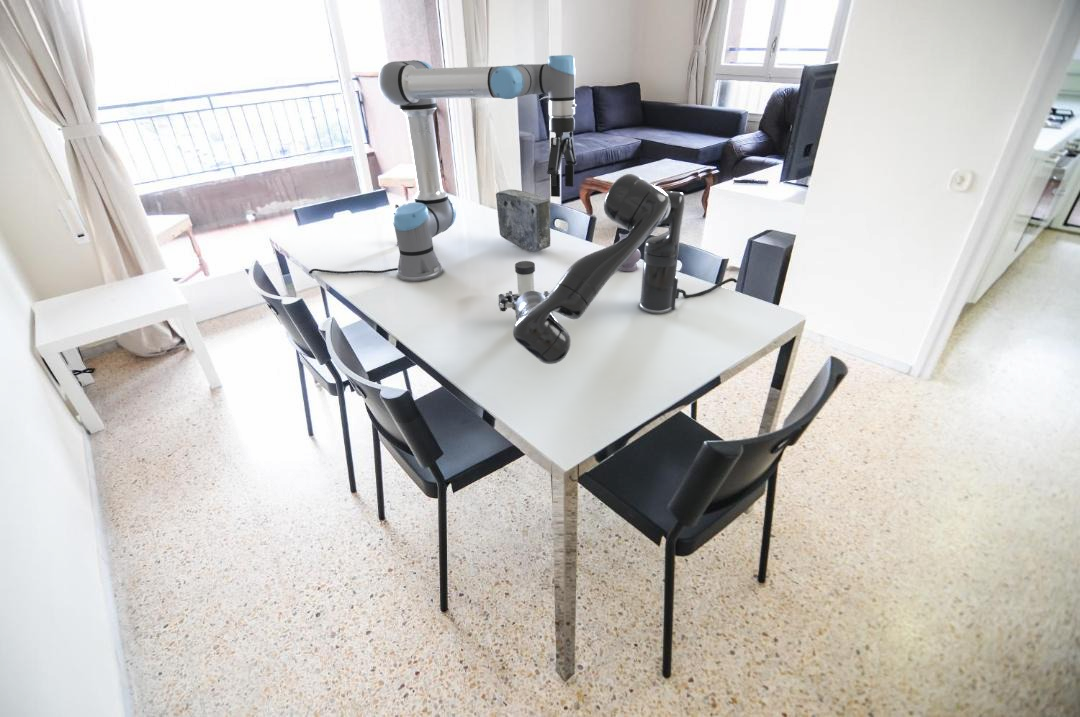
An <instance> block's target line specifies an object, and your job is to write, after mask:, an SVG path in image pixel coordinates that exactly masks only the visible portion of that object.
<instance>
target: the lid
mask: <svg viewBox="0 0 1080 717" xmlns="http://www.w3.org/2000/svg"><path fill="white" fill-rule="evenodd" d="M514 271H515V273H516V275H517V274H522V275H526V274H531V273H533V272H534V273H535V272H536V263H535V262H533V261H531V260H522V261H518V262H516V263H515V264H514Z"/></svg>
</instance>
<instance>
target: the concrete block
mask: <svg viewBox="0 0 1080 717" xmlns="http://www.w3.org/2000/svg"><path fill="white" fill-rule="evenodd" d="M495 199H496V200H495V201H496V209H497V221H498V230H499V235H500V237H501V238H503V239H505V240H506V241H508V242H509V243H511V244H513V245H515V246H517V247H519V248H520V249H523V250H526V251H530V252H540V251H542V250H545V249H547V248H549V247H551V200H550V199H549V198H546V197H544V196H541V195H538V194H535V193H531V192H528V191H523V190H519V189H511V188H510V189H505V190H500V191H498V192H496V193H495Z"/></svg>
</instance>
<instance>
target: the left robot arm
mask: <svg viewBox="0 0 1080 717" xmlns="http://www.w3.org/2000/svg"><path fill="white" fill-rule="evenodd" d="M377 85H378V89H379V92H380V93H381V95H382V96H383V97H384V99H385V100H387V101H388V102H389V103H390V104H393V105H396V106H399V111H400V112H401V113H403V114H404V116H405V119H406V124H407V125H406V126H407V132H408V137H409V144H410V151H411V156H412V162H413V170H414V175H415V176H414V177H415V182H416V187H417V192H416V193H415V194H414V202H409V203H407V204H406V203H404V204H402V205H400V206H399V205H398V206H399V207H398V208H395V209H394V210H393V213H392V219H393V221H392V224H393V227H394V230H395V231H394V232H395V236H396V243H397V242H398V245H397V247H398V251H399V259H398V265H397V267H395V268H387V269H381V270H371V269H370V270H366V269H364V270H363V269H360V270H358V269H357V270H346V271H343V270H341V271H340V270H330V269H320V268H312V269H310V270H309V271H308V274H312V273H313V272H318V273H319V272H320V273H329V274H337V275H339V274H341V275H344V274H345V275H346V274H358V273H359V274H361V273H362V274H363V273H364V274H383V273H384V274H385V273H389V272H394V271H397V276H398V278H399V279H400V280H402V281H406V282H413V283H414V282H425V281H429V280H432V279H435V278H438V277H439V276H440V275H441V274H442V273H443V268H442V264H441V263H440V260H439V259H438V256H437V254H436V252H435V250H434V243H433V238H434V237H436V236H438V235H439V234H441V233H444V232H446V231H447V230H449V228H451V227H452V226H453V225H454V223H455V221H456V216H457V212H456V207H455V205H454V202H452V201H451V199H450V198H449V194H448V192H447V191H445V190H444V188H443V182H442V174H441V167H440V160H439V153H438V152H439V151H438V145H437V137H436V130H435V122H434V113H435V111H436V110H437V101H436V100H437V99H439V100H440V99H502V100H513V99H515V98H518V97H523V96H524V97H525V96H529V95H547V94H548V115H549V116H550V117H549V120H548V121H549V123H548V124H549V132H551V133H554V137H550V148H549V154H548V165H547V170H546V172H547V175H550V197H552V198H553V197H554V198H555V197H556V198H560V197H561V174H560V169H561V163H562V159H564V161H565V165H564V187H569V188H571V187H575V165H577V164H578V163H577V154H576V149H575V143H574V131H575V130H576V118H575V117H574V116H575V114H576V108H577V104H576V98H575V97H576V66H575V57H574V56H573V55H572V54H562V55H561V54H560V55H559V54H558V55H549V56H548V57H547V63H541V64H539V63H538V64H533V63H531V64H529V63H528V64H524V63H521V64H513V65H499V66H498V65H497V66H469V67H468V66H467V67H466V66H465V67H464V66H463V67H433V66H431V65H430V64H429V63H428V62H425V61H424V60H423V61H422V60H416V59H412V60H400V61H399V60H398V61H397V60H395V61H391V62H387V63H386V64H384V65H383V66H382V67H381V69H380V71H379V72H378V77H377ZM563 157H564V158H563Z"/></svg>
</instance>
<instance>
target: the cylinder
mask: <svg viewBox="0 0 1080 717" xmlns="http://www.w3.org/2000/svg"><path fill="white" fill-rule="evenodd" d="M534 273H535V272H533V273H531V274H526V275H522V274H517V273H516V280H517V281H516V282H517V294H520V295H522V294H523V293H525V292H528V291H535V274H534Z"/></svg>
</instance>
